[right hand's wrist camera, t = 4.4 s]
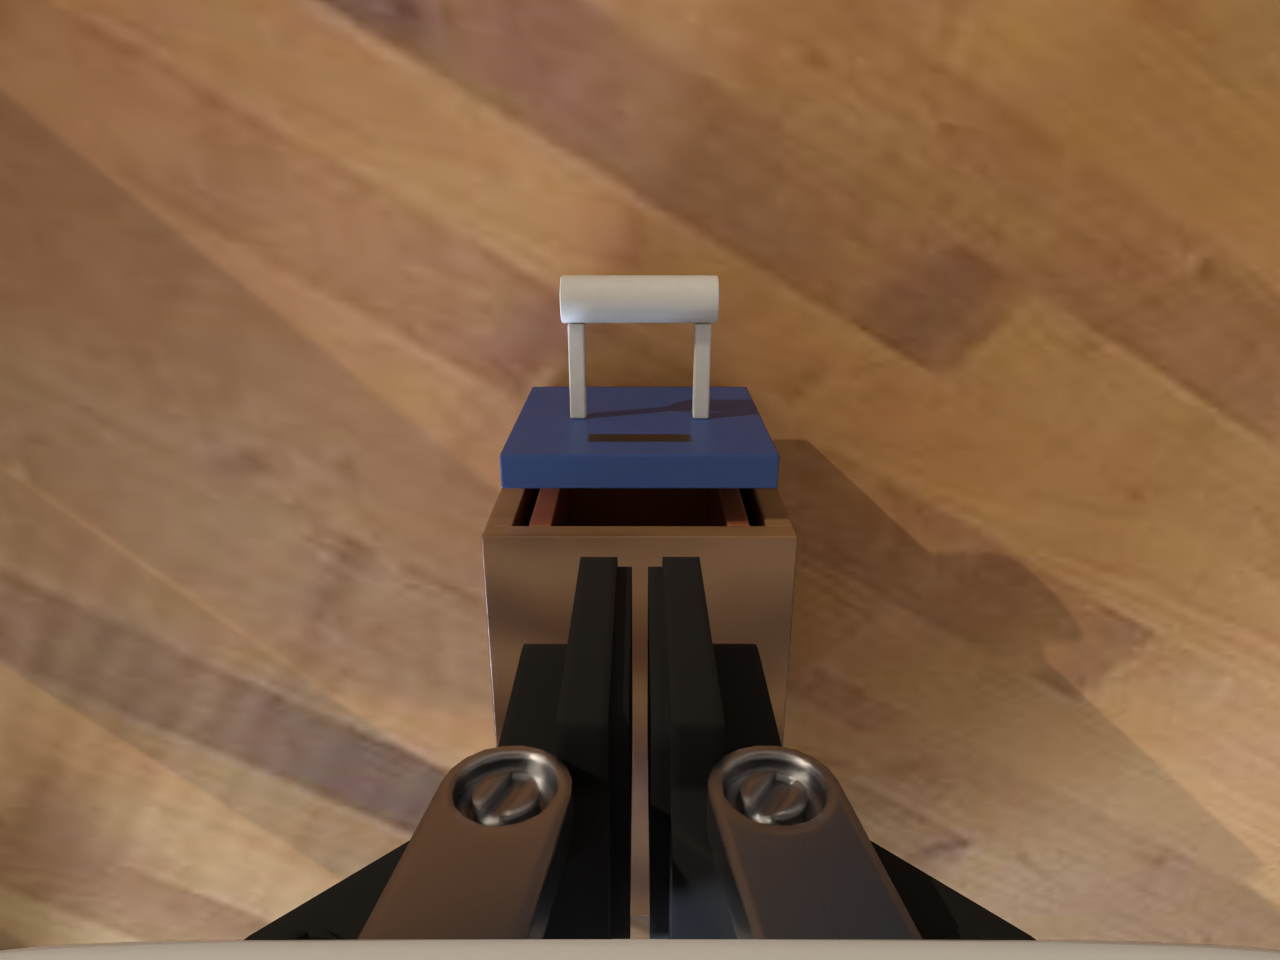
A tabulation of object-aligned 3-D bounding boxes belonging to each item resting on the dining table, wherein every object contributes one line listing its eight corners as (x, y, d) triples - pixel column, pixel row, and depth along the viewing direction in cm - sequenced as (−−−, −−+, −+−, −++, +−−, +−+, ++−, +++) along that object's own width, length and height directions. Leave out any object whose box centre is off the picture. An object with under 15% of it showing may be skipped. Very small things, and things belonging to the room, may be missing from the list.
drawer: (526, 261, 35) (489, 293, 26) (752, 261, 35) (789, 293, 26) (545, 688, 42) (521, 824, 33) (733, 688, 42) (757, 824, 33)
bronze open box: (523, 435, 38) (480, 536, 28) (755, 435, 38) (798, 536, 28) (538, 739, 44) (507, 916, 34) (740, 738, 44) (771, 916, 34)
